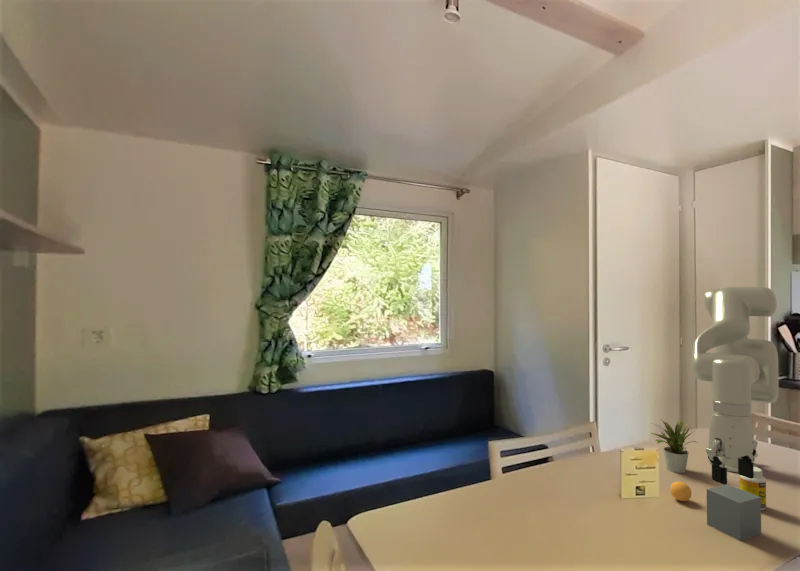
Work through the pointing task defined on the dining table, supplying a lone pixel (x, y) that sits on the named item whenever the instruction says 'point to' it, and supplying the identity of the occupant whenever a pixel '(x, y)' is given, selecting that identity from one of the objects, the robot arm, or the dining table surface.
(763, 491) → the supplement bottle
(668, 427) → the house plant
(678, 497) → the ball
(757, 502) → the grey rectangular block
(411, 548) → the dining table surface
